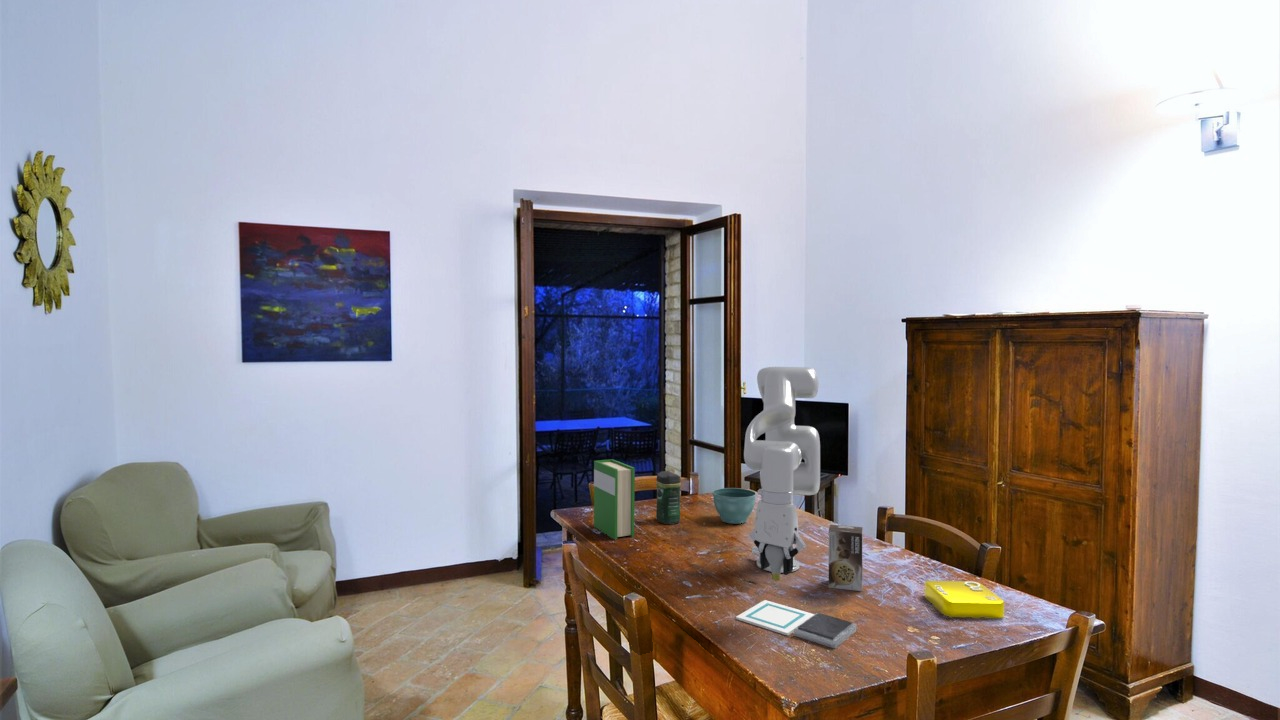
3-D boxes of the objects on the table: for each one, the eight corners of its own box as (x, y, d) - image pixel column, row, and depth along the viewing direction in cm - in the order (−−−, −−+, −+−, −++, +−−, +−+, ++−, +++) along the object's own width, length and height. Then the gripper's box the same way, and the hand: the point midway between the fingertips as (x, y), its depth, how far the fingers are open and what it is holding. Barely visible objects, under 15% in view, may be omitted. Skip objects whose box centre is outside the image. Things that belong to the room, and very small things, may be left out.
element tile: (921, 596, 181) (922, 578, 181) (978, 596, 181) (978, 579, 181) (946, 619, 166) (946, 600, 166) (1007, 620, 166) (1007, 600, 166)
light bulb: (762, 577, 168) (762, 538, 167) (783, 577, 168) (784, 537, 168) (768, 586, 162) (768, 545, 162) (790, 585, 163) (790, 544, 162)
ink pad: (793, 635, 156) (793, 627, 156) (816, 619, 165) (817, 611, 165) (834, 648, 149) (835, 639, 149) (856, 630, 158) (856, 622, 158)
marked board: (735, 619, 165) (736, 616, 165) (764, 602, 175) (764, 599, 175) (787, 635, 156) (787, 632, 156) (814, 616, 166) (815, 614, 166)
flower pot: (713, 514, 262) (713, 486, 262) (755, 516, 260) (755, 488, 259) (711, 526, 246) (711, 496, 246) (756, 527, 244) (756, 498, 243)
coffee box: (862, 583, 189) (863, 526, 188) (862, 592, 183) (863, 533, 182) (828, 579, 192) (829, 523, 191) (827, 587, 186) (828, 529, 185)
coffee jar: (683, 523, 249) (684, 473, 248) (664, 526, 246) (664, 475, 245) (672, 517, 258) (672, 468, 257) (653, 519, 254) (653, 470, 254)
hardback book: (634, 537, 232) (634, 467, 231) (614, 539, 228) (615, 469, 228) (612, 524, 247) (612, 459, 247) (593, 526, 244) (594, 460, 243)
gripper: (738, 494, 167) (738, 566, 168) (802, 505, 156) (801, 583, 157) (754, 489, 173) (753, 559, 173) (816, 500, 162) (815, 574, 162)
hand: (776, 569), depth 165 cm, fingers closed on light bulb, 5 cm apart
